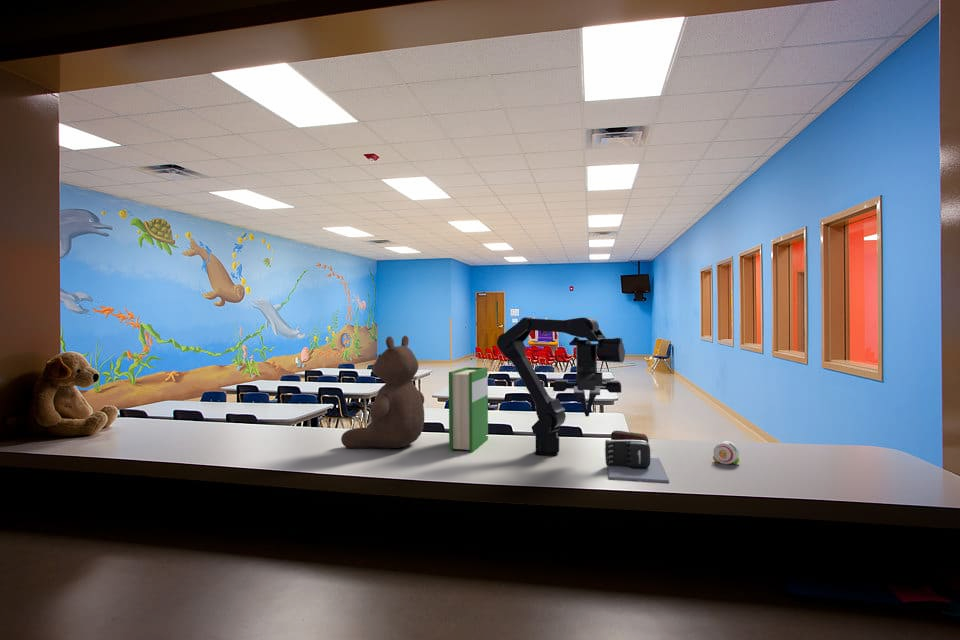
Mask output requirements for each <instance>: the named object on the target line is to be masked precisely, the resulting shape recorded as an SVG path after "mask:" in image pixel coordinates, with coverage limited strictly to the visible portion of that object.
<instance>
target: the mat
mask: <svg viewBox="0 0 960 640" xmlns="http://www.w3.org/2000/svg"><path fill="white" fill-rule="evenodd" d="M607 469H608V471H609V472H608V480H616V479H620V481H633V480H636V481H635V482H638V481H639V482H649V481H650V482H651V483H652V482H653V483H654V482H655V483H670V479H669V476H668V475H667V472H666V471H665V468H664V466H663V464H662V462H661V459H660V458H659V457H650V466H649V467H648V468H644V469H638V468H630V467H627V466H607Z"/></svg>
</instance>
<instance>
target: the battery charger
mask: <svg viewBox="0 0 960 640" xmlns="http://www.w3.org/2000/svg"><path fill="white" fill-rule="evenodd" d="M604 449H605V450H604V456H605V457H604V458H605V459H604V460H605V465H606V466H607V467H608V466H627V467H630V468H638V469H644V468H648V467H649V466H650V458H651V447H650V443H649V441H648V442H646V441H643V440H611V439H605V443H604Z"/></svg>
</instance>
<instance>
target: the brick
mask: <svg viewBox="0 0 960 640" xmlns="http://www.w3.org/2000/svg"><path fill="white" fill-rule="evenodd" d="M610 436H611V437H610V440H643V441H646V442H648V443H649V437H648V436H647V434H645V433H637V432H631V431H629V432H628V431H623V430H613V431H612V432H611V433H610Z"/></svg>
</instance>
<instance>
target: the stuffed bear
mask: <svg viewBox="0 0 960 640" xmlns="http://www.w3.org/2000/svg"><path fill="white" fill-rule="evenodd" d="M409 341H410V340H409V336H407V335H403V336H402V338H401V345H397V346H395V342H394V339H393V337H392V336H391V335H390V336H387V337H386V339H385V345H386V347H387V349H385V350H384V351H383V352H382V353H380V354H378V356H377V359H376V360H375V362H374V363H373V364H371V365H370V367H371V368H370V369H371V372H372V373H373V375H375V376H377V378H379V379H380V380H382V381H383V382H384V384H383V385H382V386H381V387H380V388H379V389H378V391H377V394H376V397H375V399H374V401H373V402H372V404H371V406H370V408H369V415H370V420H371V421H370V423H369V424H368V425H367V426H366V427H357V428H356V427H355V428H351V429H348V430H346V431H344V433H342V435H341V439H340V441H341V444H342V445H343V446H344V447H345V448H347V449H348V448H350V449H362V448H363V449H366V448H368V449H369V448H370V449H372V448H373V449H374V448H378V449H379V448H380V449H381V448H382V449H399V448H403V447H406V446H409V445H410V444H412V443H414V442H416V441H417V440H418V439H419V437H420V436H421V435H422V433H423V430H424V426H425V425H424V424H425V408H424V403H425V396H424V394H423V393H422V392H421V391H420V390H419V389H418V388H417V386H416V385H414V384H413V383H412V382H411V381H412V379H414V377H415V376H416V375H417V372H418V370H419V362H418V361H419V360H418V359H417V357H416V356H415V354H414V352H413V351H412V350H411V348H409V347H408V346H409Z"/></svg>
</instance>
